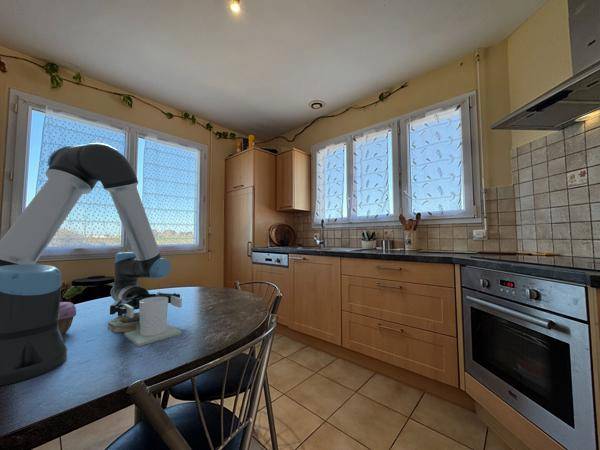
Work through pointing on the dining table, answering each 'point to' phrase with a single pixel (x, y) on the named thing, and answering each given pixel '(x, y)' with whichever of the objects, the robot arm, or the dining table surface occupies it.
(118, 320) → the collar
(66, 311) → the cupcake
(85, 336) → the dining table surface
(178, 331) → the pad
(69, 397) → the dining table surface
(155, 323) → the white cup
